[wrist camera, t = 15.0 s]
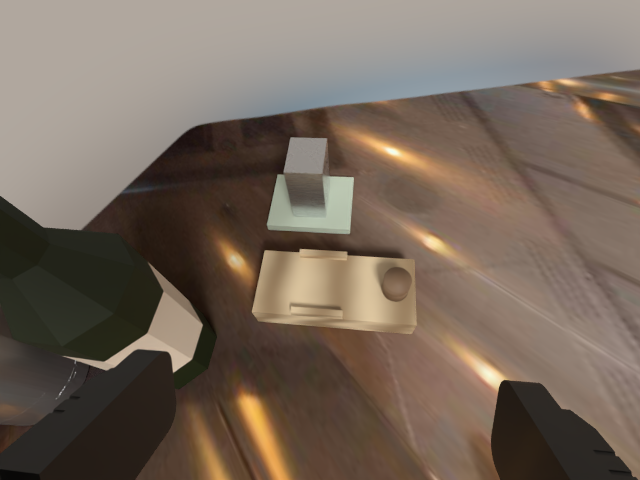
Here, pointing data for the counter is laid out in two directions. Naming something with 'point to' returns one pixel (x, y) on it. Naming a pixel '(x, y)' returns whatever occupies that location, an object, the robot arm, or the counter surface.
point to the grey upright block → (308, 176)
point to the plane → (336, 291)
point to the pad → (333, 223)
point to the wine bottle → (94, 298)
